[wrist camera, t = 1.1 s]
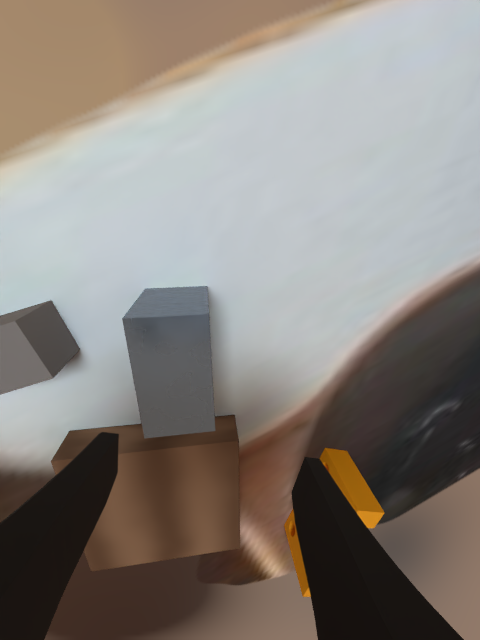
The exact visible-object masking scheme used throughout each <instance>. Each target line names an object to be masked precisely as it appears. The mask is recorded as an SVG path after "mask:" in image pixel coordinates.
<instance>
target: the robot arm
mask: <svg viewBox="0 0 480 640" xmlns="http://www.w3.org/2000/svg"><path fill="white" fill-rule="evenodd" d="M118 443H119V434H116V433H108V432H101V433H99V434H98V435H97V436H96V437H95V438H94V439H93V440H92V441H91V442H90V443H89V444H88V445H87V446H86V447H85V448H84V449H83V450H82V451H81V452H80V453H79V454H78V455H77V456H76V457H75V458H74V459H73V460H72V461H71V462H70V463H69V464H68V465H67V466H66V467H64V468H63V469H62V470H61V471H60V472H59V473H58V474H57V475H56V476H55V477H54V478H52V479H51V480H50V481H49V482H48V483H47V484H46V485H45V486H44V487H43V488H41V489H40V490H39V491H38V492H37V493H36V494H34V495H33V496H32V497H31V498H30V499H29V500H27V501H26V502H25V503H24V504H23V505H22V506H20V507H19V508H18V509H17V510H16V511H14V512H13V513H12V514H11V515H10V516H8V517H7V518H6V519H5V520H3V521H2V522H1V523H0V640H44V639H45V636H46V634H47V631H48V629H49V626H50V624H51V621H52V619H53V616H54V614H55V612H56V609H57V606H58V604H59V601H60V599H61V597H62V595H63V592H64V590H65V588H66V586H67V584H68V581H69V579H70V577H71V575H72V573H73V571H74V569H75V567H76V565H77V563H78V561H79V559H80V557H81V555H82V553H83V551H84V549H85V547H86V544H87V542H88V540H89V538H90V536H91V534H92V532H93V530H94V528H95V526H96V524H97V522H98V520H99V518H100V516H101V513H102V511H103V509H104V507H105V505H106V503H107V500H108V498H109V495H110V492H111V490H112V487H113V484H114V482H115V479H116V476H117V473H118ZM292 501H293V511H294V519H295V525H296V530H297V535H298V540H299V544H300V549H301V554H302V558H303V563H304V567H305V572H306V576H307V581H308V586H309V590H310V595H311V599H312V605H313V610H314V616H315V621H316V629H317V636H318V640H464V639H463V638H462V637H461V636H460V635H459V634H458V633H457V632H456V631H455V630H454V629H453V628H452V627H451V626H450V625H449V624H448V623H447V622H446V620H445V619H444V618H443V617H442V616H441V615H440V614H439V613H438V612H437V611H436V610H435V609H434V608H433V607H432V605H431V604H430V603H429V602H428V601H427V600H426V599H425V598H424V597H423V596H422V594H421V593H420V592H419V591H418V590H417V589H416V588H415V586H414V585H413V584H412V583H411V582H410V581H409V579H408V578H407V577H406V576H405V575H404V574H403V572H402V571H401V570H400V569H399V568H398V567H397V565H396V564H395V563H394V562H393V560H392V559H391V558H390V557H389V556H388V554H387V553H386V552H385V550H384V549H383V548H382V547H381V545H380V544H379V543H378V541H377V540H376V539H375V537H374V536H373V535H372V534H371V532H370V531H369V530H368V528H367V527H366V525H365V524H364V523H363V521H362V520H361V518H360V517H359V516H358V514H357V513H356V511H355V510H354V509H353V507H352V506H351V504H350V503H349V502H348V500H347V499H346V497H345V496H344V494H343V493H342V491H341V490H340V488H339V487H338V485H337V484H336V482H335V481H334V479H333V478H332V476H331V475H330V473H329V472H328V470H327V469H326V467H325V466H324V464H323V463H322V462H321V460H320V459H316V458H308V457H305V458H304V461H303V464H302V466H301V469H300V471H299V474H298V477H297V479H296V482H295V485H294V487H293V490H292Z"/></svg>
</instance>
